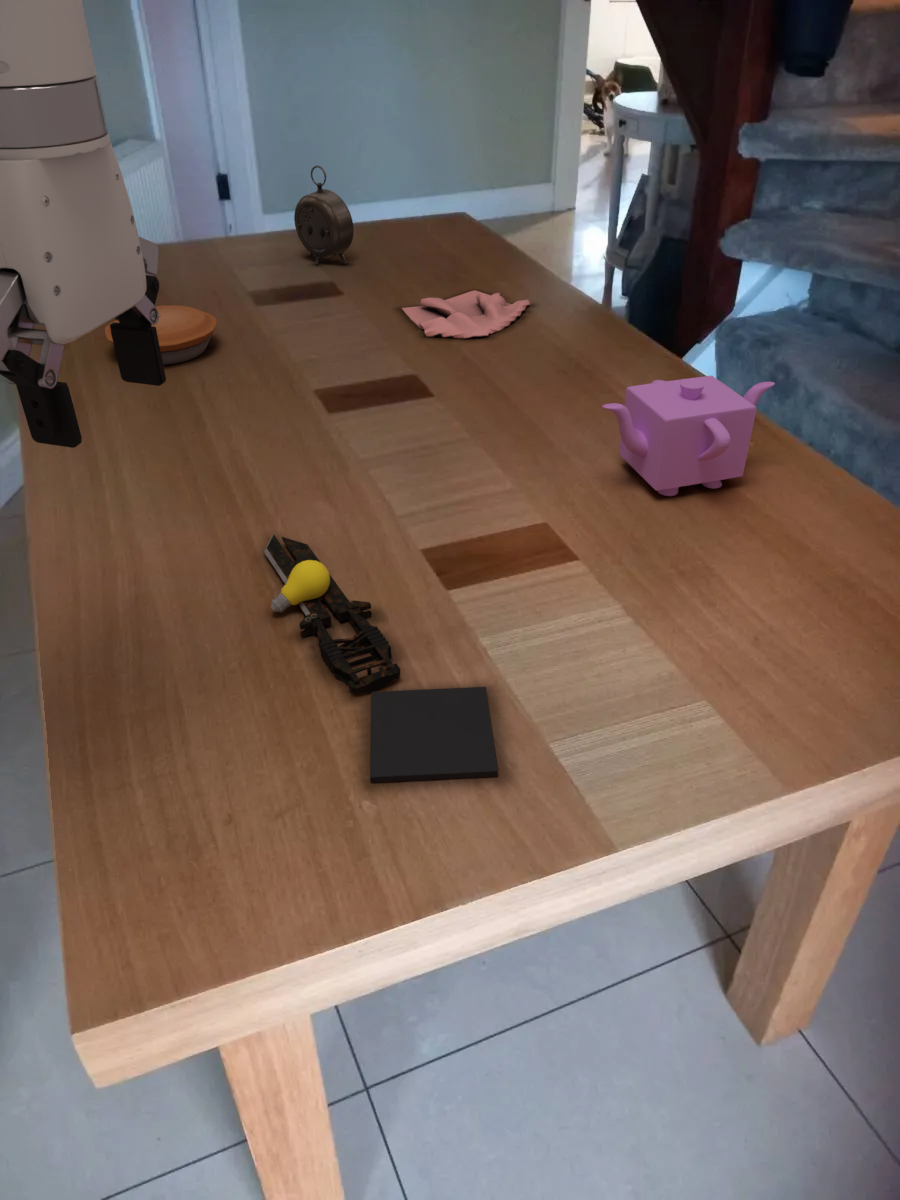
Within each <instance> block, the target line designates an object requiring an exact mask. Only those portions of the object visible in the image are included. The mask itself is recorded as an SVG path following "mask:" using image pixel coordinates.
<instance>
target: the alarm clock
mask: <svg viewBox="0 0 900 1200" xmlns="http://www.w3.org/2000/svg"><path fill="white" fill-rule="evenodd" d="M316 168H318V169H320V170H321V171H322V173H323V175H324V176H323V177H324V180H323V182H322V183H321V182H316V181H315V179H314V177H313V172H314V170H315V169H316ZM310 178H311V181H312V182H313V184H314V185H316V187H317V188H316V189H317V190H316V191H314V192H311V193H308V194H305V195H303V196H302V197H301V198H300V199H299V200H298V202H297V203H296V206H295V209H294V215H293V216H294V217H293V218H294V219H293V221H294V227H295V231H296V234H297V236H298V239H299V240H300V243H301V244H302V245H303V247H304V248H305V249H306V250H307V251H308V252H309V256H310V257H314V256H315V262H314V264H315V265H318V264H319V260H320V259H330V258H332V257H336V256H338V255H339V257H340V259H341V260H342V261H343V264H344V266H345V265H346V266H347V265H348V264H349V262H348V261H347V258H346V256H345V255H344V253H345V252H346V251H347V250H348V249H349V248H350V247H351V245H352V242H353V239H354V232H355V231H354V220H353V217H352V214H351V211H350V210H349V207H348V206H347V204H346V203H345V201H344V200H343V199H342V197H341V196H339V195H338V194H337V193H336V192H334V191H332V190H330V189H326V188H323V186H324V185H325V183H326V181H327V173H326V171H325V169H324V168H323V167H322V166H321V165H313V166H312V168H311V170H310Z"/></svg>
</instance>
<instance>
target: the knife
mask: <svg viewBox="0 0 900 1200" xmlns="http://www.w3.org/2000/svg"><path fill="white" fill-rule="evenodd" d="M281 540H282V542H283V543H284V545H285V546H286V547H287V549H288V550H289V552H290V554H292V556H293V557H294V559H295V560H292V559H291V557H290V555H289V554H288V552H287V551H286V549H285V548H284V547H283V546H282V544H281V542H280V541H279V540H278V538H277V537H276V535H275V534H271V536H270V539H269V540H268V543H267V544H266V546H265V548H264V550H263V553H264V555H265V556H266V558H267V559H268V560H269V562H270V563H271V565H272V566H273V568H274V569H275V571H276V573H277V574H278V576H279V577H280V579H281V580H282V582H283V583H284V585H285V584H286V583H287V580H288V578H289V575H290V573H291V571H292V569H293V568H294V567H295V566H296V565H297V564H298V563H300V562H302V561H306V560H315V561H318V562H320V563H322V562H321V560H320V559H319V558H318V557H317V555H316V554H315V553H314V551H313V550H312V548H311V547H310V546H309V544H307V543H304V542H301V541H297V540H294V539H291V538H287V537H284V536H281ZM329 576H330V585H329V587H328V589H327V591H326V592H325V593H324V594H323V595H322V596H320V597H318V598H315V599H312V600H307V601H302V602H300V603H298V604H297V605H298V606H299V607H300V609H301V611H302V612H303V613H304V615H305V617H304V618H303V619H302V620H301V621H300V622H299V629H300V637H301V638H307V637H310V636H312V635H317V637H318V647H319V648H320V657H321V658H322V659H323V662H325V664H326V666H327V668H328V669H329V670H330V673H331V674H333V675H334V677H335V678H336V680H339V681H342V682H343V683H344V684H346V685H348V690H349V691H350V692H351V694H352V695H357V696H359V695H361V694H365V693H367V694H371V692H378V691H380V690H381V689H384V688H385V687H387V686H388V685H390V684H392V683H393V682H394V681H396V680H397V681H398V680H399V679H400V677H401V668H400V667H399V665H398V664H397V663H393V662H392V660H391V659H392V646H391V645H390V644H389V640H388V639H387V638H386V637H385V636H384V634H383V633H382V632H381V630H380V629H379V627H378V626H377V625H376V626H373V625H371V623H370V622H369V621H368V618H371V617H372V616H373V614H372V610H371V609H372V603H371V602H370V601H362V600H352V601H350V600H349V598H348V597H347V596H346V594H345V593H344V592H343V591H342V589H341V588H340V587H339V585H338V583H337V582H336V581H335V580H334V578H333V577H332V575H331V574H330V573H329ZM323 600H324V601H325V603H326V604H327V606H328V607H329V608H330V610H331V612H332V613H333V614H334V615H335V616H336V617H337V619H338V620H339V622H342V621H346V620H348V622H349V623H350V625H351V626H352V628H353V629H354V631H355V632H356V633H357V634H355V635H354V636H352V637H350V638H349V637H348V638H335V639H333V638H332V636H331V635H330V634H329V632H328V630H327V629H326V627H327V626H331V625H332V618H331V615H330V613H329V612H328V610H327V609H326V607H325V605H324V604H323V602H322V601H323ZM339 644H341V645H339ZM338 645H339V646H338ZM360 646H361V647H360ZM362 646H363V647H362ZM364 653H370V654H371V655H369V656H365V657H361V658H360V659H356V660H353V661H350V662H349V661H348V660H347V659H348V658H352V657H354V656H359V655H361V654H364ZM374 660H376V661H375V662H371V661H374ZM367 662H371V663H369V664H366V665H365V663H367ZM362 664H364V665H363V666H359V665H362ZM356 666H359V667H356ZM353 667H356V668H353ZM377 667H378V670H379V671H374V672H372V669H373V668H377ZM364 671H366V675H364V676H361V677H359V676H358V675H357V674H358V673H361V672H364Z"/></svg>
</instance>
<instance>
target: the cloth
mask: <svg viewBox="0 0 900 1200" xmlns="http://www.w3.org/2000/svg"><path fill="white" fill-rule="evenodd" d="M530 305H531V303H530V300H529V299H523V300H520V299H519V300H516V301H515V302H514V303H509V302H507V301H506V299H505V298H504V297H503V295H502V293H500V292H494V293H493V294H488V293H485V292H481V291H478V290H471V291H468V292H465V293H462V294H459V295H456V296H452V297H449V298H447V299H443V298H440V297H425V298H424V297H423V298H421V299H420V305H419V306H407V307H401V310H402V312H404V313H405V315H406V316H407V317H408V318H409V320H411V322H413V323H414V324H415V325H416V326H417V327H418V328H419V329H421V330H424V334H425V336H426V337H428V338H437V337H439V338H453V339H461V340H465V339H470V338H484V337H489V335H492V334H495V333H497V332H500V331H502V330H503V329H504V330H505V328H506V327H509V326H510V325H511V323H512V322H515V321H516V320H517V318H519V317H521V315H522V313H523V312H524V311H526V308H527V307H528V306H530Z"/></svg>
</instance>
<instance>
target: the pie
mask: <svg viewBox="0 0 900 1200" xmlns="http://www.w3.org/2000/svg"><path fill="white" fill-rule="evenodd" d="M155 306H156V308H157V309H158V312H159V320H158V322H157V324H155V325H151V326H153V327H156V330H157V335H158V341H159V346H160V351H161V356H162V361H163V366H166V365H174V364H180V363H183V362H187V361H190V360H192V359H195V358H197V357H199V356H200V355H202V354H203V353H204V352H205V350H206V349H207V347H208V345H209V342H210V341H211V338H212V335H213V333H214V332H215V330H216V329H217V325H218V320H217V318H216V317H215V316H214V315H213V314H210V313H208V312H206V311H202V310H201V309H198V308H196V307H192V306H186V305H175V304H169V305H155ZM114 322H115V323H119V321H117V320H116V319H114V321H111V322H110V323H109V324H108V325H107V326H104V335H105V337H106V340H107V341H108V342H110V343H111V344H112V345H113V346H114V344H113V339H112V335H111V329H110V324H112V323H114Z"/></svg>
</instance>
